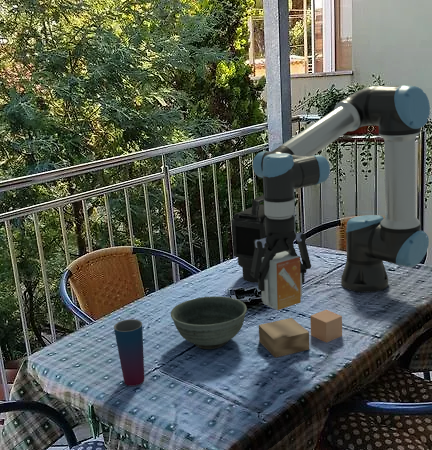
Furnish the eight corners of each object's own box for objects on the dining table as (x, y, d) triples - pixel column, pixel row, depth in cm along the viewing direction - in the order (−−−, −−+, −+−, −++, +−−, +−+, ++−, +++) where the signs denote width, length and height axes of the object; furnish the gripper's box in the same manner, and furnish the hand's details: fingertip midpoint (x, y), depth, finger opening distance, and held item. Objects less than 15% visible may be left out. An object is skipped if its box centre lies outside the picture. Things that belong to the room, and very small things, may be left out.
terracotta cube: (326, 329, 166) (326, 309, 165) (342, 336, 162) (342, 316, 160) (310, 335, 163) (310, 315, 162) (326, 343, 158) (326, 322, 157)
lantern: (253, 266, 219) (249, 188, 211) (296, 274, 209) (293, 192, 201) (230, 280, 207) (225, 197, 199) (274, 288, 197) (271, 202, 189)
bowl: (193, 368, 150) (190, 332, 147) (161, 337, 168) (158, 305, 165) (262, 346, 159) (261, 312, 156) (225, 319, 177) (223, 288, 174)
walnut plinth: (292, 334, 165) (291, 317, 163) (309, 349, 155) (309, 332, 154) (259, 341, 161) (258, 324, 160) (275, 357, 152) (274, 340, 151)
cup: (121, 375, 149) (114, 320, 145) (148, 372, 149) (142, 318, 145) (119, 389, 142) (112, 332, 138) (147, 386, 143) (141, 330, 139)
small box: (277, 311, 150) (276, 263, 147) (262, 303, 156) (260, 257, 152) (301, 302, 155) (300, 256, 151) (286, 295, 160) (284, 250, 156)
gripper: (310, 206, 155) (311, 286, 161) (234, 218, 149) (238, 300, 155) (324, 212, 149) (325, 295, 155) (245, 225, 142) (249, 311, 148)
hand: (282, 298), depth 155 cm, fingers closed on small box, 9 cm apart
